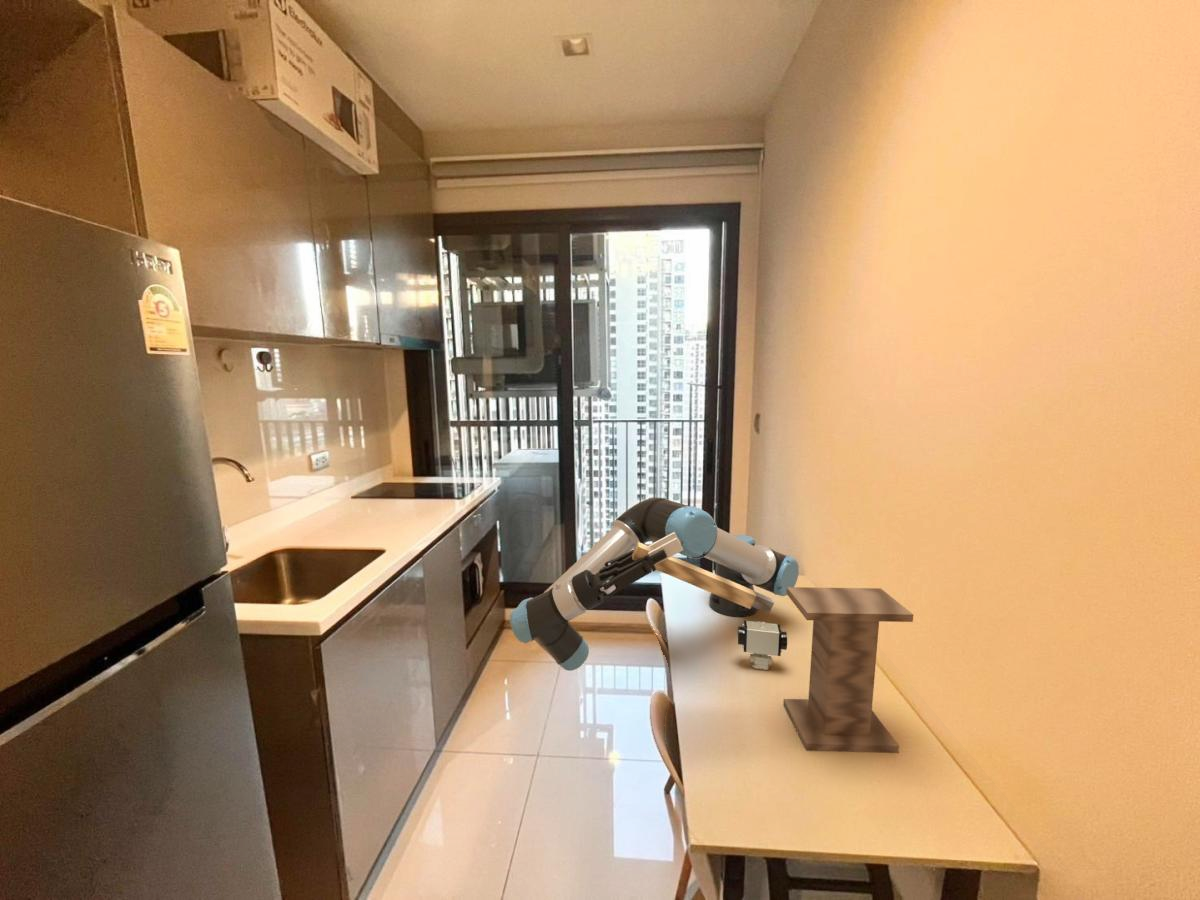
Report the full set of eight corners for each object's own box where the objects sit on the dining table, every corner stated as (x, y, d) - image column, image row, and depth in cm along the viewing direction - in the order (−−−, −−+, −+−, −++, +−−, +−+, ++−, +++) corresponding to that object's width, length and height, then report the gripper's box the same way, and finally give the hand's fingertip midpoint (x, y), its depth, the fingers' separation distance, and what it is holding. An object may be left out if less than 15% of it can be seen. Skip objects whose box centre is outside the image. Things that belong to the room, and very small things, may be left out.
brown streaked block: (637, 541, 104) (632, 554, 104) (638, 546, 101) (632, 559, 101) (770, 597, 105) (763, 609, 105) (774, 603, 102) (768, 616, 102)
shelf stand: (801, 750, 100) (809, 615, 96) (778, 704, 114) (785, 585, 110) (903, 752, 99) (916, 617, 95) (868, 706, 113) (878, 586, 109)
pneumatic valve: (785, 674, 125) (788, 629, 124) (737, 668, 128) (738, 624, 126) (783, 662, 131) (785, 619, 129) (736, 656, 133) (738, 614, 132)
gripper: (566, 595, 96) (674, 537, 94) (573, 564, 112) (666, 514, 109) (585, 628, 97) (693, 571, 94) (590, 592, 113) (682, 543, 110)
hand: (678, 540), depth 102 cm, fingers closed on brown streaked block, 3 cm apart
